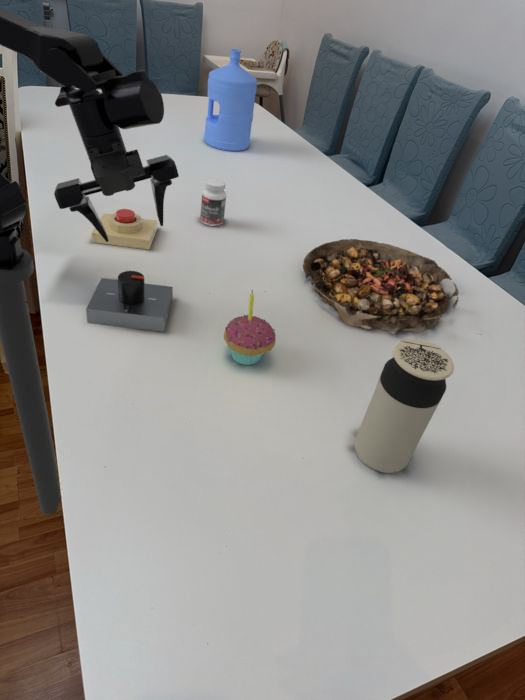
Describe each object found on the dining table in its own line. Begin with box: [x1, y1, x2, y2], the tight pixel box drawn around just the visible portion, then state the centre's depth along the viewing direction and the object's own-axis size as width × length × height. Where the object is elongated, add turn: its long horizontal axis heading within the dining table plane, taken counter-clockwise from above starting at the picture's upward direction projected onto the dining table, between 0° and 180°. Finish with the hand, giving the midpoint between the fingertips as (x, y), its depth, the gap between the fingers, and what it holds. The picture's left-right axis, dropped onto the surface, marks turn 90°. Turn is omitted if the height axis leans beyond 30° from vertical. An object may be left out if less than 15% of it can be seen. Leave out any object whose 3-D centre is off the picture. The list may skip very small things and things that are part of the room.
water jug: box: [203, 48, 258, 152], centre depth 161 cm, size 16×16×28 cm
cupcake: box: [223, 289, 277, 366], centre depth 80 cm, size 9×8×12 cm
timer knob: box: [117, 270, 145, 304], centre depth 86 cm, size 4×4×4 cm
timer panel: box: [85, 277, 174, 333], centre depth 88 cm, size 13×10×3 cm
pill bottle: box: [200, 177, 227, 227], centre depth 119 cm, size 6×6×10 cm
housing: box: [91, 212, 158, 250], centre depth 109 cm, size 12×10×4 cm
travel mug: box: [353, 338, 455, 474], centre depth 66 cm, size 8×8×18 cm
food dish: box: [302, 238, 459, 335], centre depth 106 cm, size 35×33×8 cm
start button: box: [115, 208, 136, 224], centre depth 107 cm, size 4×4×2 cm
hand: (134, 233), depth 82 cm, fingers open, 9 cm apart
